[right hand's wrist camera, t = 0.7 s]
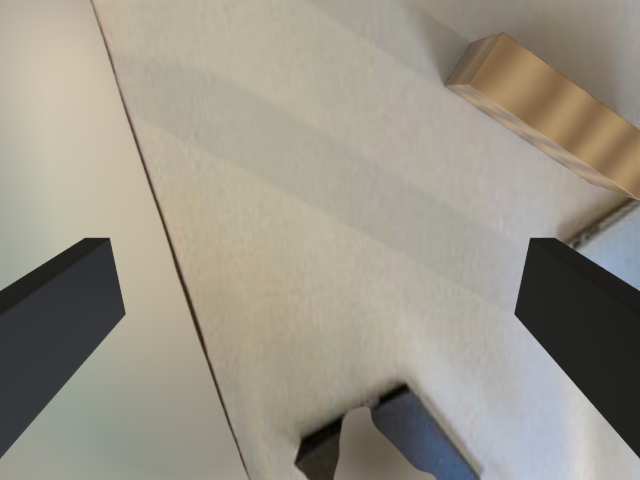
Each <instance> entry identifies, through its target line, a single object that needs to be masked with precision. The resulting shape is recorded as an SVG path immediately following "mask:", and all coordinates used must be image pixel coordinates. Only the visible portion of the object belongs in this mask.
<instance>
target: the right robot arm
mask: <svg viewBox="0 0 640 480" xmlns="http://www.w3.org/2000/svg"><path fill="white" fill-rule="evenodd" d="M125 314H126V313H125V308H124V304H123V299H122V294H121V289H120V285H119V280H118V275H117V271H116V266H115V261H114V256H113V252H112V247H111V242H110V238H84V239H83V240H81V241H79V242H78V243H76V244H74V245H73V246H71V247H70V248H68V249H67V250H65V251H63V252H62V253H60V254H59V255H57V256H55V257H54V258H52V259H51V260H49V261H47V262H46V263H44V264H43V265H41V266H39V267H38V268H36V269H35V270H33V271H32V272H30V273H28V274H27V275H25V276H24V277H22V278H20V279H19V280H17V281H16V282H14V283H12V284H11V285H9V286H8V287H6V288H4V289H3V290H1V291H0V458H1V457H2V456H3V455H4V454H5V453H6V451H7V450H8V449H9V448H10V447H11V446H12V444H13V443H14V442H15V441H16V440H17V439H18V438H19V436H20V435H21V434H22V433H23V432H24V431H25V429H26V428H27V427H28V426H29V425H30V424H31V422H32V421H33V420H34V419H35V418H36V417H37V416H38V414H39V413H40V412H41V411H42V410H43V409H44V408H45V406H46V405H47V404H48V403H49V402H50V401H51V400H52V398H53V397H54V396H55V395H56V394H57V393H58V391H59V390H60V389H61V388H62V387H63V386H64V385H65V383H66V382H67V381H68V380H69V379H70V378H71V376H72V375H73V374H74V373H75V372H76V371H77V370H78V368H79V367H80V366H81V365H82V364H83V363H84V361H85V360H86V359H87V358H88V357H89V356H90V355H91V354H92V352H93V351H94V350H95V349H96V348H97V347H98V345H99V344H100V343H101V342H102V341H103V340H104V339H105V337H106V336H107V335H108V334H109V333H110V332H111V330H112V329H113V328H114V327H115V326H116V325H117V324H118V322H119V321H120V320H121V319H122V318H123V317H124V316H125ZM514 314H515V316H516V317H517V318H518V319H519V320H520V321H521V322H522V324H523V325H524V326H525V327H526V328H527V329H528V330H529V332H530V333H531V334H532V335H533V336H534V337H535V339H536V340H537V341H538V342H539V343H540V344H541V345H542V347H543V348H544V349H545V350H546V351H547V352H548V354H549V355H550V356H551V357H552V358H553V359H554V360H555V362H556V363H557V364H558V365H559V366H560V367H561V368H562V370H563V371H564V372H565V373H566V374H567V375H568V377H569V378H570V379H571V380H572V381H573V382H574V383H575V385H576V386H577V387H578V388H579V389H580V390H581V391H582V393H583V394H584V395H585V396H586V397H587V398H588V400H589V401H590V402H591V403H592V404H593V405H594V406H595V408H596V409H597V410H598V411H599V412H600V413H601V415H602V416H603V417H604V418H605V419H606V420H607V421H608V423H609V424H610V425H611V426H612V427H613V428H614V429H615V431H616V432H617V433H618V434H619V435H620V436H621V438H622V439H623V440H624V441H625V442H626V443H627V444H628V446H629V447H630V448H631V449H632V450H633V451H634V453H635V454H636V455H637V456H638V457H639V458H640V291H639V290H637V289H636V288H634V287H632V286H631V285H629V284H628V283H626V282H624V281H623V280H621V279H620V278H618V277H616V276H615V275H613V274H612V273H610V272H609V271H607V270H605V269H604V268H602V267H601V266H599V265H597V264H596V263H594V262H593V261H591V260H589V259H588V258H586V257H585V256H583V255H581V254H580V253H578V252H577V251H575V250H573V249H572V248H570V247H569V246H567V245H566V244H564V243H562V242H561V241H559V240H558V239H556V238H530V242H529V247H528V251H527V256H526V261H525V266H524V270H523V275H522V280H521V285H520V289H519V294H518V299H517V304H516V308H515V313H514Z"/></svg>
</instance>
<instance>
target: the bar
mask: <svg viewBox="0 0 640 480" xmlns="http://www.w3.org/2000/svg"><path fill="white" fill-rule="evenodd" d="M444 86H445V87H446V88H448V89H449V90H451V91H452V92H454V93H455V94H457V95H458V96H460V97H461V98H463V99H464V100H466V101H467V102H469V103H470V104H472V105H473V106H475V107H476V108H478V109H479V110H481V111H482V112H484V113H485V114H487V115H488V116H490V117H491V118H493V119H494V120H496V121H497V122H499V123H500V124H502V125H503V126H505V127H506V128H508V129H509V130H511V131H512V132H514V133H515V134H517V135H518V136H520V137H521V138H523V139H524V140H526V141H527V142H529V143H530V144H532V145H533V146H535V147H536V148H538V149H540V150H541V151H543V152H544V153H546V154H547V155H549V156H550V157H552V158H553V159H555V160H556V161H558V162H559V163H561V164H562V165H564V166H565V167H567V168H568V169H570V170H571V171H573V172H574V173H576V174H577V175H579V176H580V177H582V178H583V179H585V180H586V181H588V182H589V183H591V184H592V185H595V186H598V187H601V188H604V189H607V190H610V191H613V192H616V193H619V194H622V195H625V196H628V197H631V198H634V199H637V200H640V130H638V129H637V128H636V127H634V126H633V125H631V124H630V123H629V122H627V121H626V120H625V119H623V118H622V117H620V116H619V115H618V114H616V113H615V112H613V111H612V110H611V109H609V108H608V107H606V106H605V105H604V104H602V103H601V102H600V101H598V100H597V99H595V98H594V97H593V96H591V95H590V94H588V93H587V92H586V91H584V90H583V89H582V88H580V87H579V86H577V85H576V84H575V83H573V82H572V81H570V80H569V79H568V78H566V77H565V76H563V75H562V74H561V73H559V72H558V71H557V70H555V69H554V68H552V67H551V66H550V65H548V64H547V63H545V62H544V61H543V60H541V59H540V58H538V57H537V56H536V55H534V54H533V53H532V52H530V51H529V50H527V49H526V48H525V47H523V46H522V45H520V44H519V43H518V42H516V41H515V40H513V39H512V38H511V37H509V36H508V35H507V34H505V33H504V32H502V33H499V34H496V35H493V36H490V37H487V38H484V39H481V40H478V41H475V42H472V43H471V44H470V46H469V48H468V49H467V51H466V52H465V54H464V55H463V57H462V58H461V60H460V62H459V63H458V65H457V66H456V68H455V69H454V71H453V72H452V74H451V76H450V77H449V79H448V80H447V82H446V83H445V85H444Z"/></svg>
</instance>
